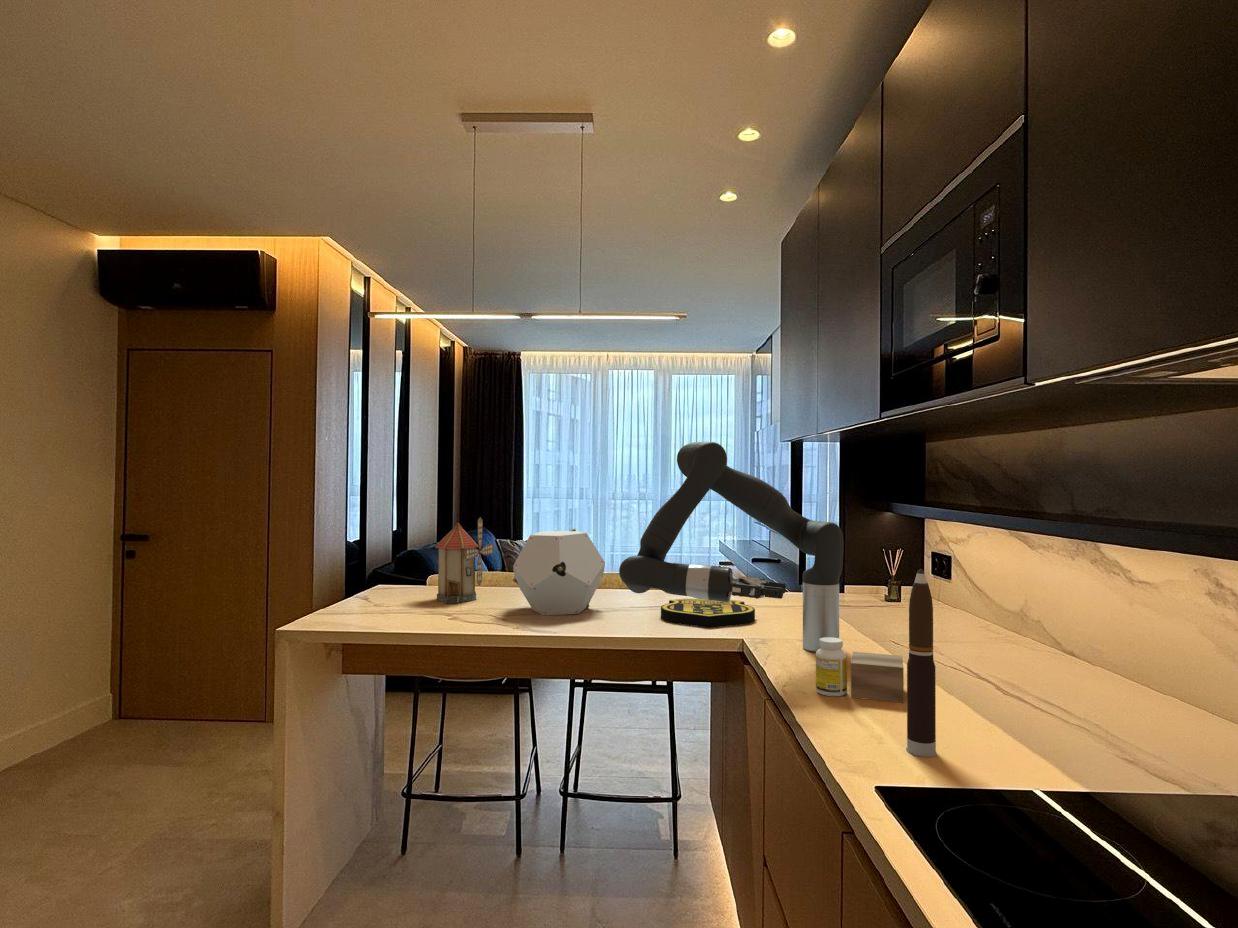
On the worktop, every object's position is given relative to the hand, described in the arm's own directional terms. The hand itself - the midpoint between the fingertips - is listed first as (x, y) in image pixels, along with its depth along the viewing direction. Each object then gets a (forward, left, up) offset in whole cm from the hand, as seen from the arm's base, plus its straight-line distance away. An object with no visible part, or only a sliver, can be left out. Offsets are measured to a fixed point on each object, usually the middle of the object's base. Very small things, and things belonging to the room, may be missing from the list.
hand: (784, 590), depth 152 cm
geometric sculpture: (-61, -81, -21) cm, 104 cm away
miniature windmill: (-66, -122, -21) cm, 141 cm away
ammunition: (+28, +26, -21) cm, 43 cm away
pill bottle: (0, +10, -21) cm, 23 cm away
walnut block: (-3, +19, -21) cm, 28 cm away
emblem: (-67, -32, -21) cm, 77 cm away
